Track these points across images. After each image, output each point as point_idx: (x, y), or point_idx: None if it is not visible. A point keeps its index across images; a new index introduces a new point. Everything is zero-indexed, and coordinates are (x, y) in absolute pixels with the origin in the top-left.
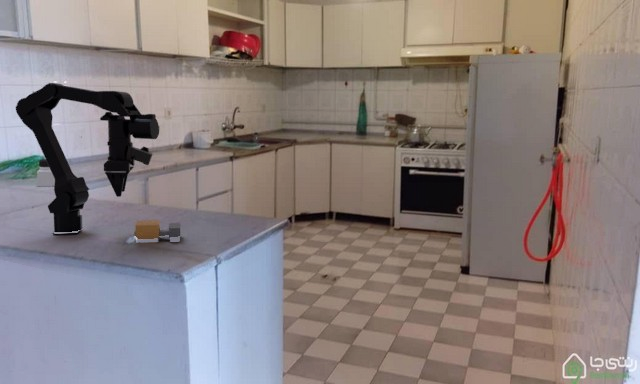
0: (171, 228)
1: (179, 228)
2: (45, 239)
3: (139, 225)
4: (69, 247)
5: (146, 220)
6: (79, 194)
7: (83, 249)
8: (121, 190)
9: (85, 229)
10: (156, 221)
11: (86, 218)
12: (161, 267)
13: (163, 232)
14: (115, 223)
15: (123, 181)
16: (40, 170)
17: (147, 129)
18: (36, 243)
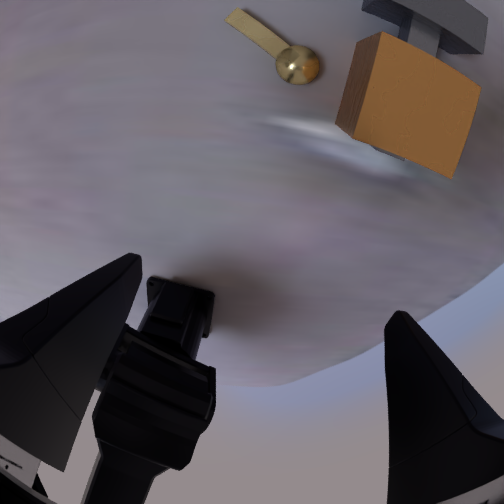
0: (483, 45)
1: (487, 20)
2: (249, 347)
3: (457, 163)
4: (361, 316)
5: (371, 95)
6: (178, 399)
7: (400, 292)
8: (432, 343)
9: (143, 266)
10: (412, 60)
11: (26, 247)
12: None
13: (434, 53)
14: (67, 178)
15: (468, 397)
16: None
17: None
18: (284, 359)
